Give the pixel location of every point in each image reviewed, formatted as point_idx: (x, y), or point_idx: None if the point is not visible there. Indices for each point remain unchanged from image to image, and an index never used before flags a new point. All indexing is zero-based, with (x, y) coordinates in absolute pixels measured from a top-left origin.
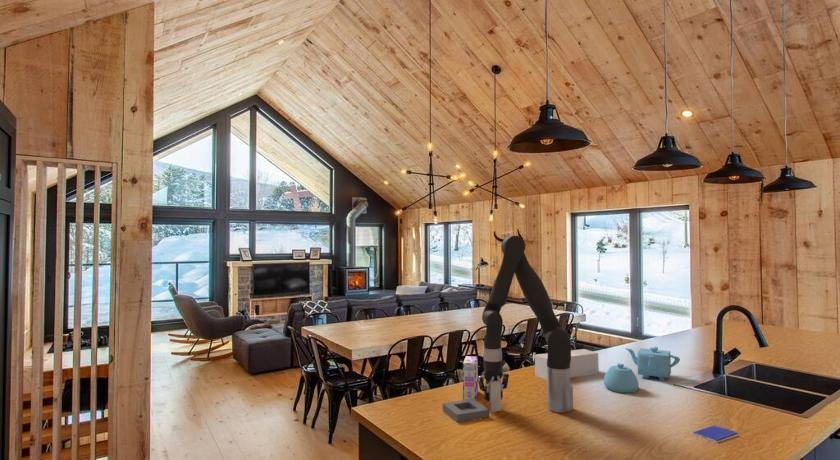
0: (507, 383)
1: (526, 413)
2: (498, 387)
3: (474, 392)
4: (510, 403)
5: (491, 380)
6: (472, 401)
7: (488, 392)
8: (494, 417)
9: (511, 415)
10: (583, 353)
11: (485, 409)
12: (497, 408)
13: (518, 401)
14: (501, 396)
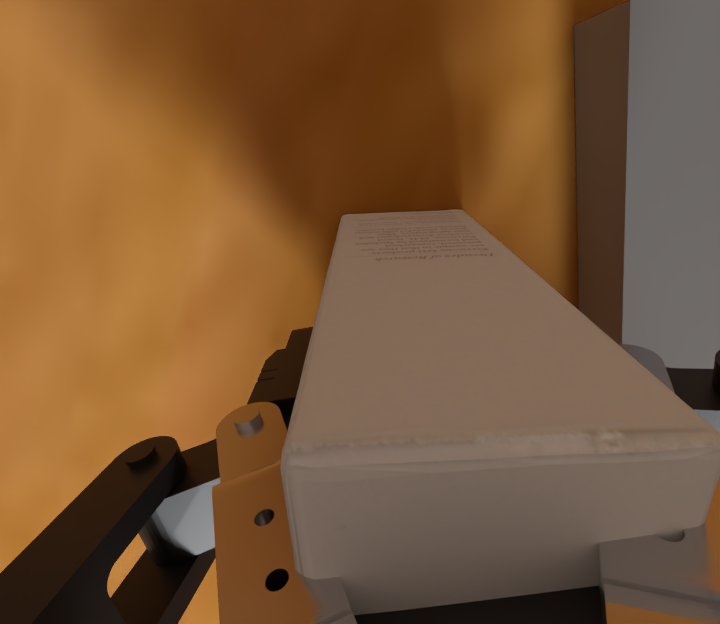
0: (44, 531)
1: (33, 77)
2: (377, 340)
3: None
4: (173, 418)
5: (702, 595)
6: None
7: None
8: (505, 9)
9: (250, 41)
10: None
11: (687, 23)
12: (391, 217)
13: (81, 451)
14: (289, 346)
